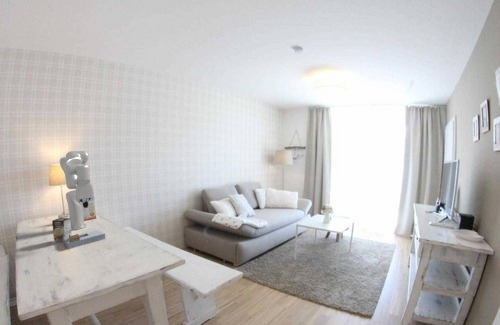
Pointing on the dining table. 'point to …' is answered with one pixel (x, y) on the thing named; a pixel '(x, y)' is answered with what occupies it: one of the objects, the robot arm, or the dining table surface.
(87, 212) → the white glue bottle
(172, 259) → the dining table surface
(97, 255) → the dining table surface
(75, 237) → the block
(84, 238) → the tray
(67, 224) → the coffee box
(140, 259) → the dining table surface
